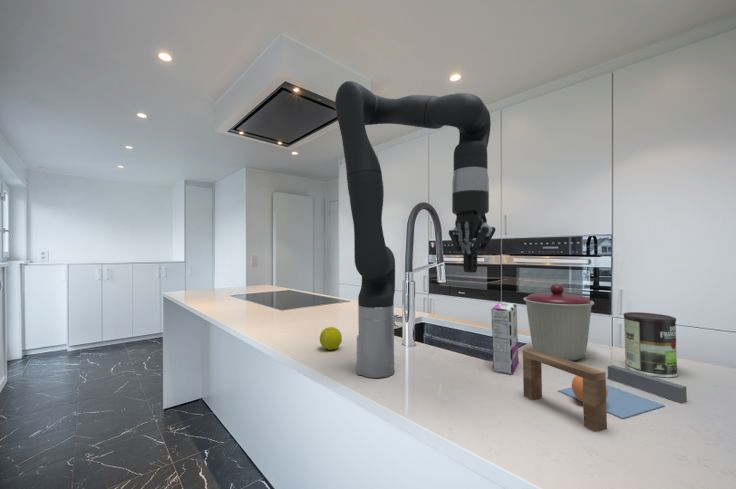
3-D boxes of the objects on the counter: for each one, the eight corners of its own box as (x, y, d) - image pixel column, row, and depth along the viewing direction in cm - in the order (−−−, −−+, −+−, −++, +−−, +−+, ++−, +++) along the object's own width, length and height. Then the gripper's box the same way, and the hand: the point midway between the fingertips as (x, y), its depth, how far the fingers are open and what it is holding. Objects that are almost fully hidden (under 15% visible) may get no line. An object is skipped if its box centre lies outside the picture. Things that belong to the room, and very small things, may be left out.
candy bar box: (499, 359, 93) (498, 302, 94) (518, 362, 90) (517, 303, 91) (491, 371, 84) (490, 307, 84) (512, 375, 81) (511, 309, 81)
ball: (579, 381, 63) (599, 366, 65) (559, 382, 68) (579, 368, 70) (600, 411, 61) (621, 395, 63) (578, 410, 66) (598, 395, 68)
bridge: (595, 432, 55) (593, 374, 55) (523, 396, 69) (522, 350, 69) (607, 428, 56) (605, 372, 57) (534, 393, 70) (533, 348, 70)
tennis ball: (323, 353, 100) (323, 330, 100) (317, 347, 106) (317, 326, 106) (344, 350, 103) (344, 328, 103) (337, 345, 109) (337, 324, 109)
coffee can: (686, 374, 81) (684, 317, 81) (664, 380, 77) (662, 321, 77) (638, 361, 90) (637, 310, 91) (616, 367, 86) (614, 313, 87)
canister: (517, 357, 95) (515, 285, 96) (533, 343, 109) (531, 280, 109) (591, 371, 83) (589, 289, 84) (599, 354, 97) (597, 283, 98)
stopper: (681, 403, 65) (680, 388, 65) (607, 378, 78) (607, 366, 78) (686, 401, 66) (686, 386, 66) (613, 377, 79) (612, 365, 79)
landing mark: (622, 419, 59) (622, 418, 59) (558, 391, 71) (557, 390, 71) (664, 406, 64) (664, 405, 64) (597, 382, 76) (597, 381, 76)
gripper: (507, 187, 65) (507, 274, 65) (465, 197, 77) (464, 270, 77) (476, 184, 62) (476, 274, 62) (438, 195, 75) (437, 270, 74)
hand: (470, 272), depth 69 cm, fingers closed
